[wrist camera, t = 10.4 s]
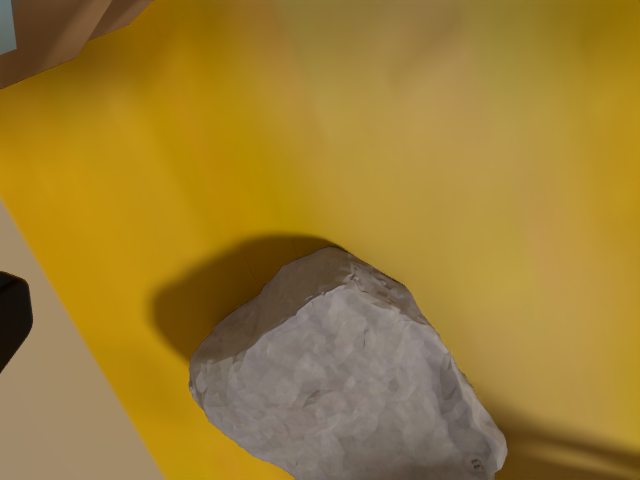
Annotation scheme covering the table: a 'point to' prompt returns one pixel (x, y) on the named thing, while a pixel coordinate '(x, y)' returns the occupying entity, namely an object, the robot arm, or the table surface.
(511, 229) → the table surface
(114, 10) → the tower base
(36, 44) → the tower mid
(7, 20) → the slate block
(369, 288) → the stone block
